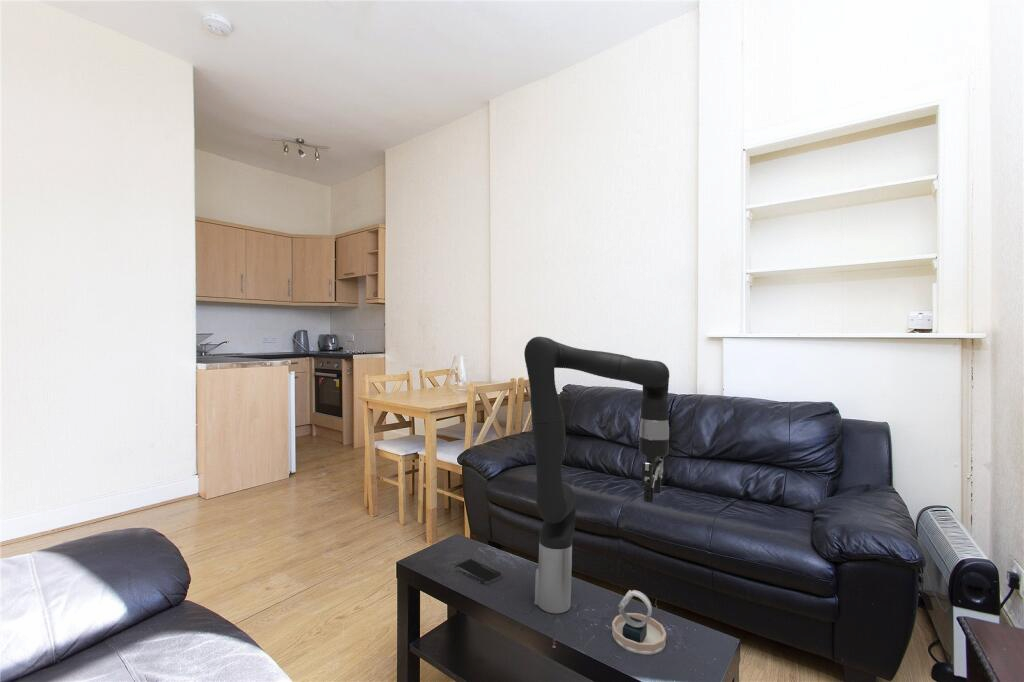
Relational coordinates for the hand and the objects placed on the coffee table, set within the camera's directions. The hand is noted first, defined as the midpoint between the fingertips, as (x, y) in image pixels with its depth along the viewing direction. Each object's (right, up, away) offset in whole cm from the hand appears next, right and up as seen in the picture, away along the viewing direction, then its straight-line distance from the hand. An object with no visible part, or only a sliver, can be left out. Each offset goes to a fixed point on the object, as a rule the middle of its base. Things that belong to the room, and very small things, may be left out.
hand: (652, 497), depth 119 cm
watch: (-7, -32, -8) cm, 34 cm away
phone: (-48, -33, +24) cm, 63 cm away
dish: (-6, -33, -7) cm, 34 cm away
